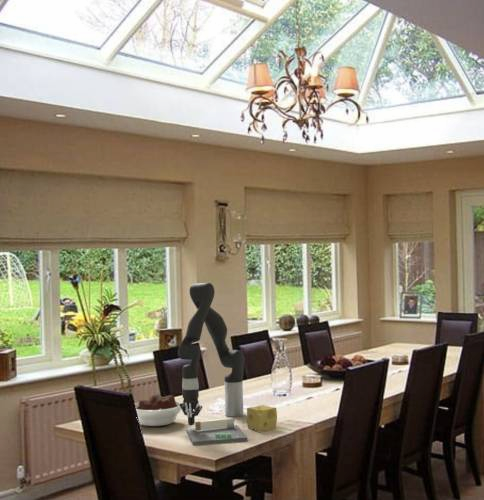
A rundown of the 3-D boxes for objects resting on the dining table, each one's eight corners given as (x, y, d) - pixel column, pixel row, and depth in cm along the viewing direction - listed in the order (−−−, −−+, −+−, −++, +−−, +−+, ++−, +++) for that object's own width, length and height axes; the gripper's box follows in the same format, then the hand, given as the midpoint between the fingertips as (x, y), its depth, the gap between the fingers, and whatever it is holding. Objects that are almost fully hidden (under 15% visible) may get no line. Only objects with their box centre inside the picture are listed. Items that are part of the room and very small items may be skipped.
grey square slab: (186, 432, 334) (186, 425, 334) (237, 428, 338) (237, 421, 338) (193, 445, 310) (193, 438, 310) (247, 440, 315) (247, 433, 315)
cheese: (260, 432, 329) (259, 410, 329) (246, 428, 338) (245, 407, 338) (277, 428, 335) (277, 407, 335) (263, 424, 344) (262, 404, 344)
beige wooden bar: (232, 425, 336) (232, 417, 336) (235, 427, 333) (235, 418, 333) (194, 430, 329) (194, 421, 329) (197, 432, 326) (196, 423, 326)
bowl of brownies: (125, 422, 357) (124, 392, 357) (173, 416, 367) (172, 387, 367) (139, 433, 334) (138, 400, 334) (189, 426, 345) (189, 395, 345)
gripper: (174, 387, 334) (175, 424, 334) (195, 390, 326) (196, 428, 326) (185, 385, 340) (186, 421, 340) (206, 387, 332) (207, 425, 331)
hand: (191, 424), depth 333 cm, fingers closed
